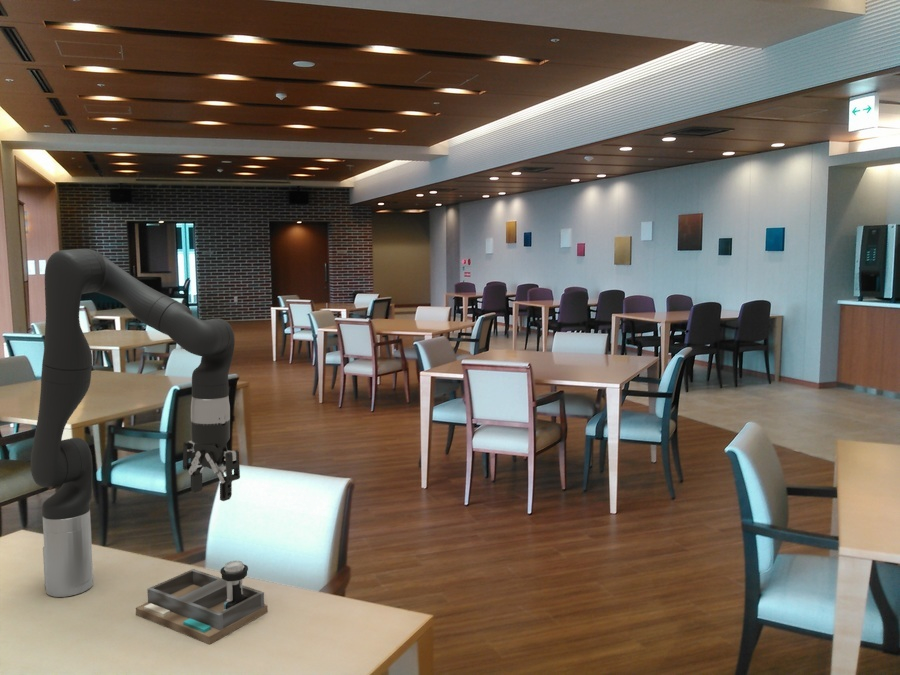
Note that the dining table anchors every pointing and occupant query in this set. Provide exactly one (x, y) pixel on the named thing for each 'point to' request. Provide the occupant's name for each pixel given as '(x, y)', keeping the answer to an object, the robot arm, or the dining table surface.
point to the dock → (200, 606)
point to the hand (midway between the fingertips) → (211, 495)
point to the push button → (234, 582)
